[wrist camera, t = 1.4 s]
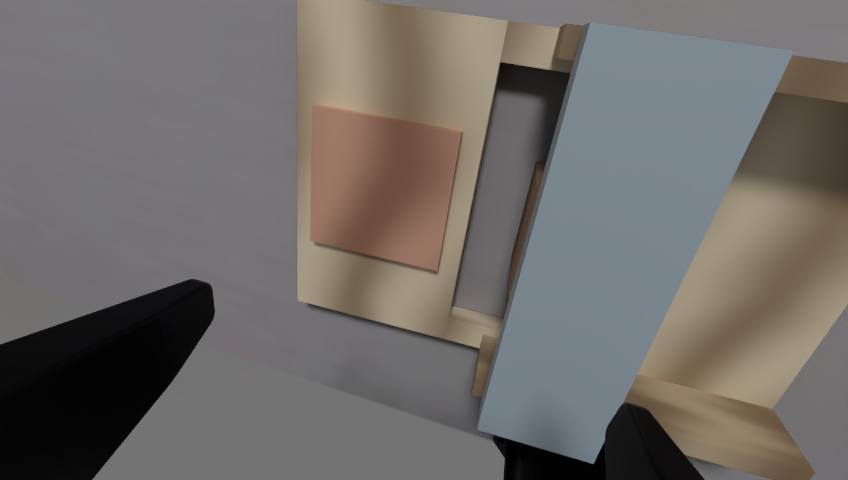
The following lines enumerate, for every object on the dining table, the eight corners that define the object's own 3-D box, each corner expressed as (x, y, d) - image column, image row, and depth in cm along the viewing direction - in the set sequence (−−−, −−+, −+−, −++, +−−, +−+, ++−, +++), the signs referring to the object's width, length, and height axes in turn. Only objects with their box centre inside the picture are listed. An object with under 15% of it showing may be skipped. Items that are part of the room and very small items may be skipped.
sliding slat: (480, 402, 20) (476, 429, 18) (583, 25, 13) (589, 22, 11) (588, 433, 19) (593, 463, 18) (763, 50, 12) (794, 51, 10)
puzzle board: (307, 290, 26) (264, 336, 22) (310, -6, 19) (247, -22, 15) (751, 404, 22) (802, 488, 18) (967, 88, 15) (1134, 103, 11)
